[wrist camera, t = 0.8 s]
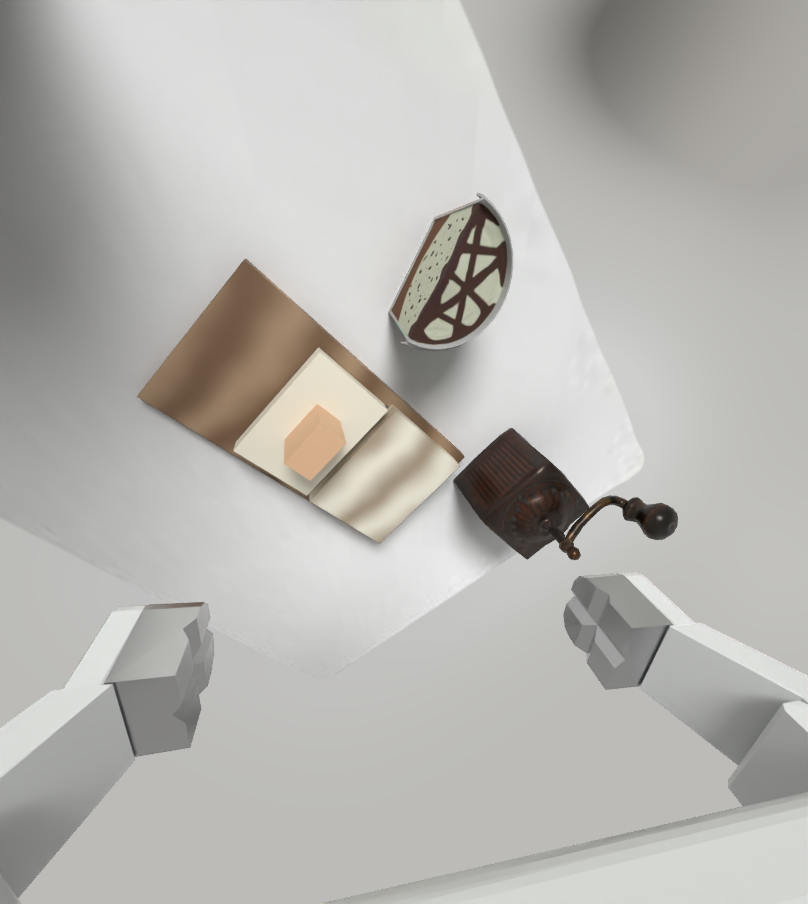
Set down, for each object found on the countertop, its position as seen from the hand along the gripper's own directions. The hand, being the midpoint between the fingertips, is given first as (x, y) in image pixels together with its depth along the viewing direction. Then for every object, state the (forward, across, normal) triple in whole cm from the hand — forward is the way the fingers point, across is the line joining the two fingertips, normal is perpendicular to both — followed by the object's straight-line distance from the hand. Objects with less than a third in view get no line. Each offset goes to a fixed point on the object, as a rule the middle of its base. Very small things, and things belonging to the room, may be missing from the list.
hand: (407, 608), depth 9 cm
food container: (+35, -9, -7) cm, 37 cm away
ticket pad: (+35, +2, +9) cm, 36 cm away
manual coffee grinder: (+38, -24, +14) cm, 47 cm away
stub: (+33, +3, +8) cm, 34 cm away
